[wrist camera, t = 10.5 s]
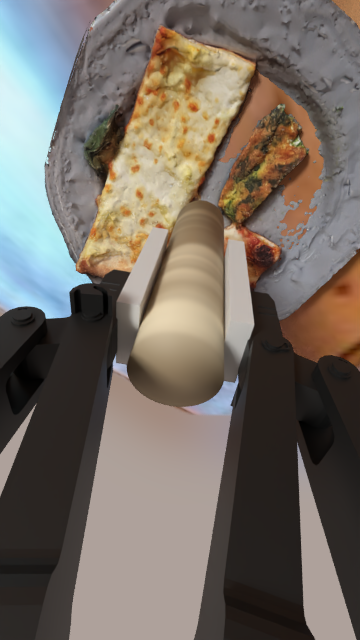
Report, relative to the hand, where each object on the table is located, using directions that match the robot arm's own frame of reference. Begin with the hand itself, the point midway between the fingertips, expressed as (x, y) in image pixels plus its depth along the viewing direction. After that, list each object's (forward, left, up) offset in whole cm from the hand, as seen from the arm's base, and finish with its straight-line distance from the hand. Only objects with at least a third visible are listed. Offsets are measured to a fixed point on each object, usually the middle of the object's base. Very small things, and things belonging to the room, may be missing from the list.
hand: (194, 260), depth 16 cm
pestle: (0, 0, -5) cm, 5 cm away
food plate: (0, 0, -12) cm, 12 cm away
